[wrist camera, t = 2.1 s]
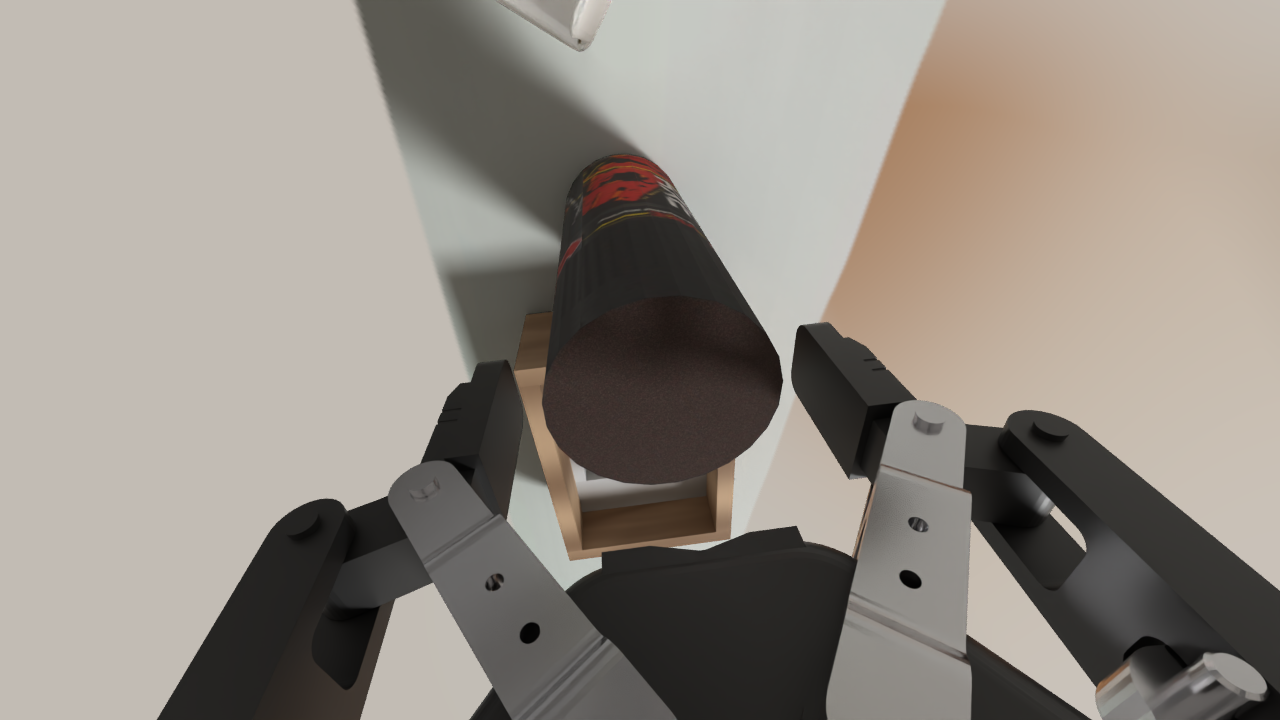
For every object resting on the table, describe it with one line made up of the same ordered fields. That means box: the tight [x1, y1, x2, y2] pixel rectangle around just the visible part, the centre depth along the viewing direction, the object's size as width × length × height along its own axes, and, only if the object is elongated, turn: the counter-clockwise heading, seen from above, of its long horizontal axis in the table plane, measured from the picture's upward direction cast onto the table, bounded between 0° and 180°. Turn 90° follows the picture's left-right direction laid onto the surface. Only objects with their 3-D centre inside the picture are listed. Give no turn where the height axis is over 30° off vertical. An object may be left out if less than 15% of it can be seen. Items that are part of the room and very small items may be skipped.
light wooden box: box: [514, 312, 735, 561], centre depth 29 cm, size 16×11×6 cm
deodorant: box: [542, 154, 783, 485], centre depth 17 cm, size 6×6×15 cm
